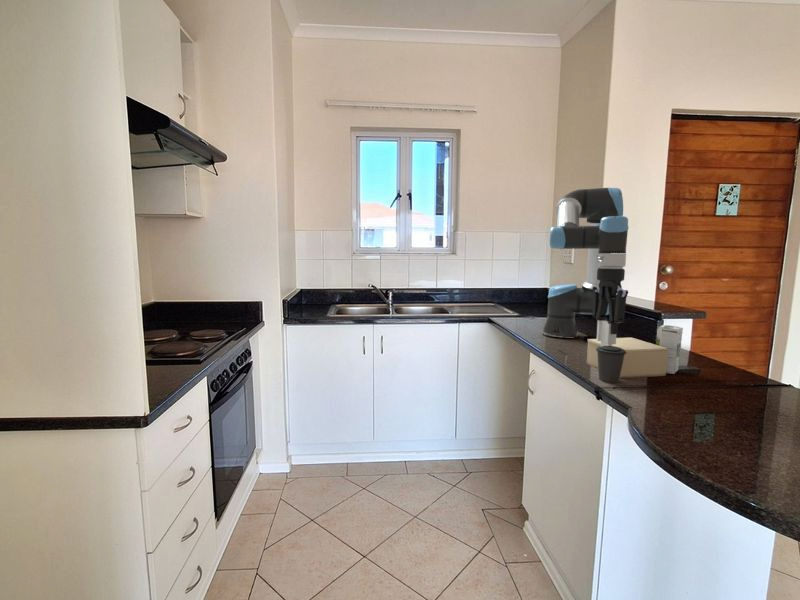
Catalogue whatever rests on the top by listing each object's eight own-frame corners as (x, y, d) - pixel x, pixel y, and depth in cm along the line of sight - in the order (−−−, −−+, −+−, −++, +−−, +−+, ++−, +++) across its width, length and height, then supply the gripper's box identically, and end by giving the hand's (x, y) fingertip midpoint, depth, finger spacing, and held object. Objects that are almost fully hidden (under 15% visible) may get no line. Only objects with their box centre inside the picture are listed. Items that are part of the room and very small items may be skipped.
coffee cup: (630, 383, 115) (633, 350, 114) (605, 385, 114) (607, 351, 113) (612, 374, 123) (614, 343, 122) (588, 375, 122) (590, 344, 121)
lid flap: (584, 342, 135) (586, 316, 134) (630, 340, 137) (632, 314, 136) (615, 354, 120) (617, 324, 119) (666, 351, 122) (669, 322, 121)
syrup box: (657, 367, 132) (661, 324, 130) (679, 371, 128) (683, 326, 126) (653, 370, 128) (656, 326, 126) (675, 374, 124) (679, 329, 122)
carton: (586, 363, 136) (588, 340, 135) (628, 361, 139) (630, 339, 138) (618, 378, 120) (620, 352, 119) (665, 375, 123) (667, 350, 122)
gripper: (583, 266, 130) (578, 336, 132) (619, 268, 113) (613, 349, 116) (603, 266, 131) (599, 336, 133) (642, 268, 114) (636, 348, 117)
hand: (605, 342), depth 124 cm, fingers closed on lid flap, 4 cm apart
